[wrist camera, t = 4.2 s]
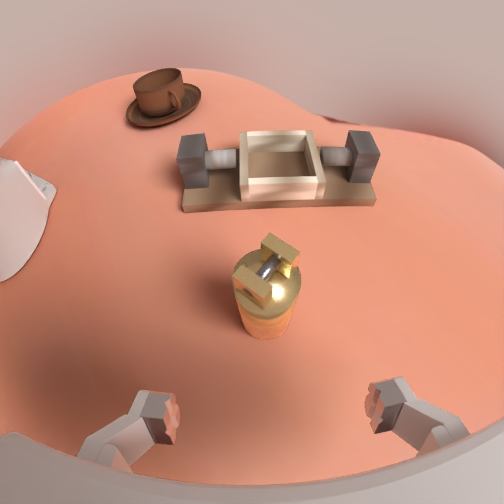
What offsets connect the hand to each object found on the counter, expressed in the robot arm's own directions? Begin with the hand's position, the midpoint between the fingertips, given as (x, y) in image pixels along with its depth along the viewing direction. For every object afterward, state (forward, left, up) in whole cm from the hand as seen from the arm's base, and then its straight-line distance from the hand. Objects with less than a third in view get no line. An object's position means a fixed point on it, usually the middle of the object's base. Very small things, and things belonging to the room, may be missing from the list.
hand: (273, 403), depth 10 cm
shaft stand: (-12, +18, -11) cm, 25 cm away
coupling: (-4, +5, -11) cm, 13 cm away
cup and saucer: (-36, +21, -12) cm, 43 cm away
